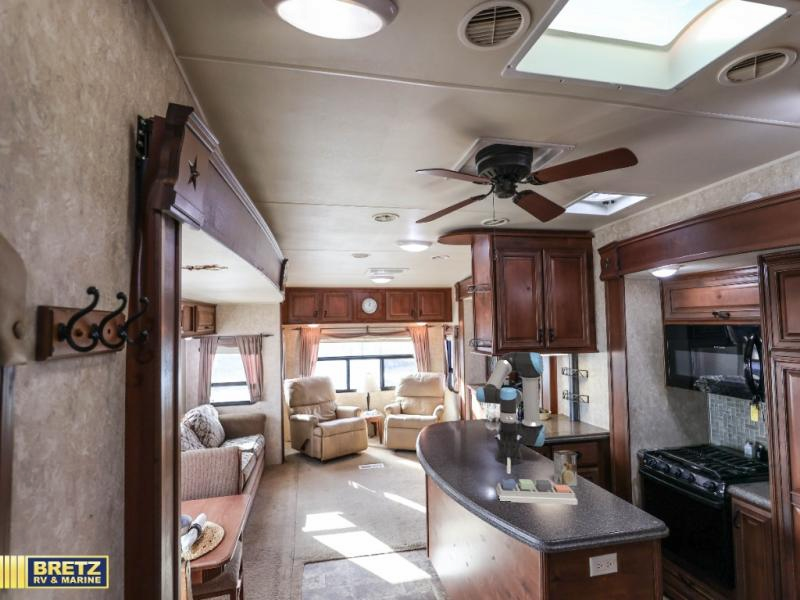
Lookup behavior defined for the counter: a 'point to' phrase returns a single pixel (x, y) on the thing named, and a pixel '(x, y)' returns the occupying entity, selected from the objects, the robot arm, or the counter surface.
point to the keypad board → (535, 495)
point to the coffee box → (565, 468)
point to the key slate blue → (509, 483)
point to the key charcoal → (543, 485)
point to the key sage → (526, 484)
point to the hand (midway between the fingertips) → (508, 472)
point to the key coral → (561, 489)
